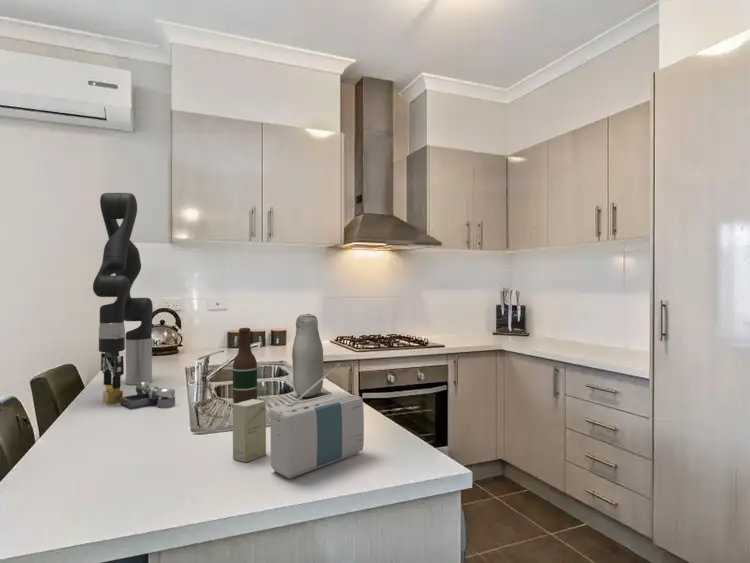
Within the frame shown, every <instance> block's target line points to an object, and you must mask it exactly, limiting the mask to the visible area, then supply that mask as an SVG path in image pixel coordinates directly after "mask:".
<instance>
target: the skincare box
mask: <svg viewBox="0 0 750 563" xmlns="http://www.w3.org/2000/svg"><path fill="white" fill-rule="evenodd" d="M266 408H267V406H266V400H263V399H262V400H261V399H257V400H256V399H251V400H247V401H243V402H240V403H232V459H233V460H236V461H240V462H243V463H244V462H245V463H248V462H251V461H253V460H256V459H258V458H261V457H263V456H265V455H267V427H266V426H267V423H266V421H267V420H266V419H267V415H266V412H267V410H266Z"/></svg>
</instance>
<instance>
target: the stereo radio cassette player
mask: <svg viewBox="0 0 750 563" xmlns="http://www.w3.org/2000/svg"><path fill="white" fill-rule="evenodd" d="M339 366H341V364H340V363H338V364H336V366H335V367H334V368H333V369H331V370H330V371H329V372H327V374H325V375H323V378H321V379H320V380H319V381H318V382H317V383H315V384H314V385H313V386H312V387H311V388H310V389H308V390H307V391H306V392H305V393H304V394H303V395H301V396H300V395H299V397H298V398H297V399H295V400H294V401H293V402H291V403H287V404H282V405H278V406H274V407H270V408H269V409H268V412H269V413H268V415H269V419H270V420H269V421H270V423H269V424H270V425H269V426H270V428H269V429H270V466H271V469H273V471H274V472H276V473H278V474H280V475H281V476H284V477H286V478H287V479H289V480H292V478H296V477H298V476H301V475H303V474H305V473H308V472H311V471H314V470H316V469H319V468H322V467H324V466H327V465H330V464H333V463H336V462H338V461H340V460H344V459H347V458H349V457H351V456H352V457H353V456H356V455H357V454H359V452H360V451H361V452H362V451H363V450H364V443H365V442H364V441H365V438H364V436H365V435H364V434H365V427H364V426H365V424H364V423H365V421H364V420H365V419H364V413H365V412H364V411H365V410H364V400H363V398H362V396H358V395H355V394H351V393H345V392H340V391H339V392H335V393H329V394H325V395H320V396H318V397H316V396H315V397H313V398H312V397H311V398H307V399H303V400H301V399H302V398H304V397H303V396H305V395H306V394H307V393H308V392H309V391H310V390H312V389H313V388H314V387H315V386H316V385H317V384H319V383H320V382H321V381H322V380H323V381H324V379H326V378H327V376H329V375H330V374H331V373H332V372H333V371H334V370H335V369H336V368H337V367H339Z"/></svg>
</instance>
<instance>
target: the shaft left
mask: <svg viewBox="0 0 750 563" xmlns="http://www.w3.org/2000/svg"><path fill="white" fill-rule="evenodd" d="M151 384H152V383H151V382H149V381H147V380H146V381H143V382H141V383H139V384H136V387H135V392H136V395H137V394H144V393H149V390H150V388H151Z"/></svg>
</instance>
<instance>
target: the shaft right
mask: <svg viewBox="0 0 750 563" xmlns="http://www.w3.org/2000/svg"><path fill="white" fill-rule="evenodd" d="M149 389H150V390H149V398H150V399H156V398H159V399H158V405H157V409H158V408H159V409H167V408H171V407H173V406H175V405H176V396H175V395H176V394H175V393H176V392H175V389H173V388H159V387H158V386H154V385H153V386H150V387H149Z"/></svg>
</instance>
